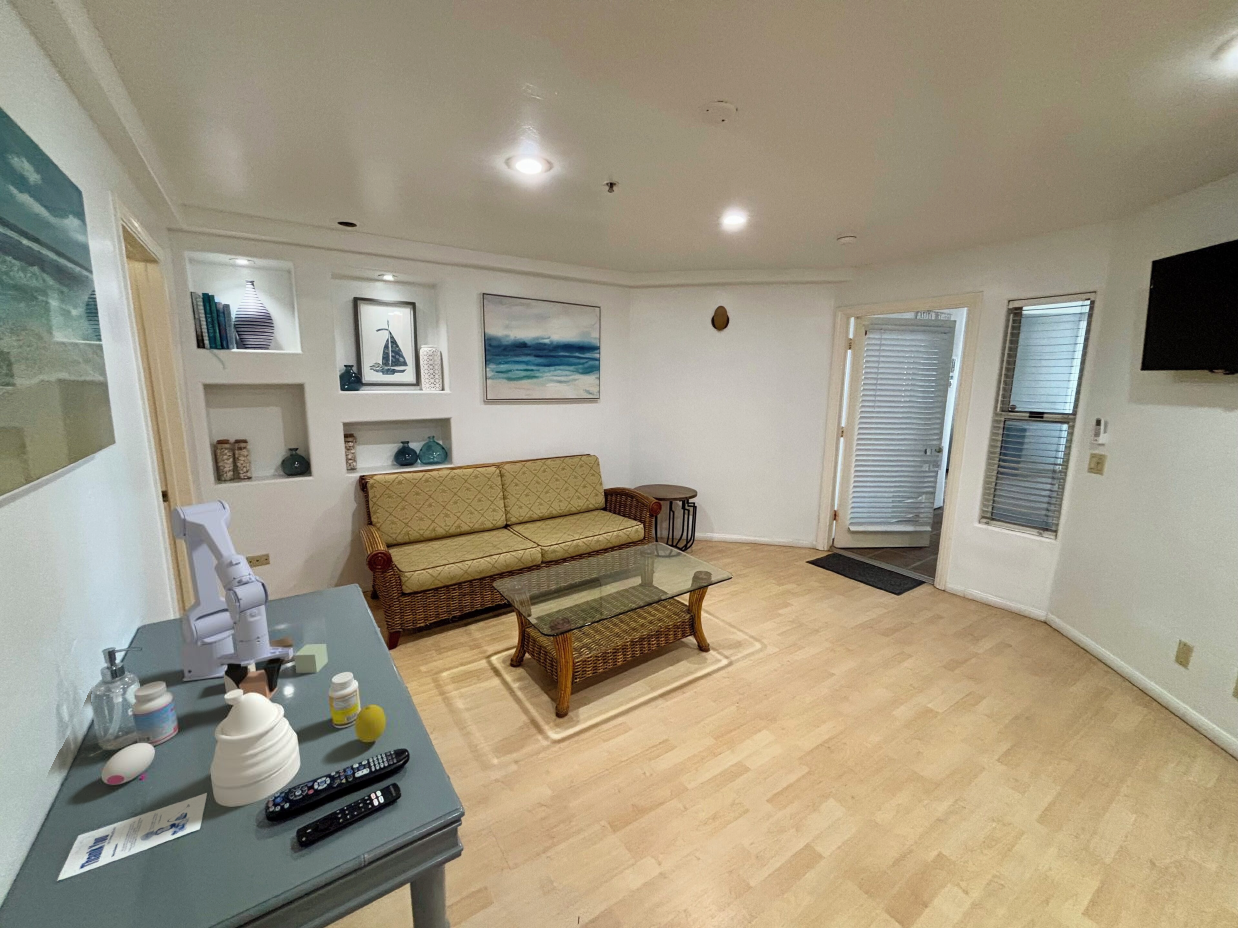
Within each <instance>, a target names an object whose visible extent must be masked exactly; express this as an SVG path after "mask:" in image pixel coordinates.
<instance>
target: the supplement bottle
mask: <svg viewBox="0 0 1238 928" xmlns="http://www.w3.org/2000/svg"><path fill="white" fill-rule="evenodd" d="M353 674H354V673H352V672H351V671H344V672H340V673H337V674H336V675H334V676H333V677H332V679H331V686H330V687H329V689H328V699H329V708H330V709H329V710H330V716H331V717H330V718H331V724H332V725H333V727H335V728H337V729H338V728H339V729H343V728H348V727H350V726H353V725H355V720H356V717H357V715H358V713H359V712H360V711H361V710H362V708H361V707H362V706H361V698H360V688H359V682H358V681H357V679H354V675H353Z"/></svg>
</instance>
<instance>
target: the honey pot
mask: <svg viewBox="0 0 1238 928" xmlns="http://www.w3.org/2000/svg"><path fill="white" fill-rule="evenodd" d="M223 697H224V700H225V702H226V703H227V704H228V705H230V706H231V705H232V708H231V709H230V711H229V712H228V714H227V717H226V718H223V720H222V721H221V722H220V723H219V724H218V725H217V727H216V728H215V731H214V737H215V739H216V740H217V744H216V745H215V751H214V755H213V760H212V762H211V764H210V769H209V772H210V775H211V776H210V779H211V780H210V781H211V786H212V792H213V797H214V800H215V802H216V803H217V804H219V805H221V806H224V807H229V808H232V807H242V806H246V805H250V804H253V803H256V802H258V801H261V800H264V799H265V798H268V797H269V796H271V795H273V794H276V793H277V791H279V790H280V789H282V788H283V787H285V786H286V785H287V784H288V783H289V782H290V781H291V780H292V779H293V778H294V777H295V775H296V774H297V773H298V772H299V769H300V767H301V757H300V755H301V754H300V748H299V741H298V735H297V733H296V732H295V731H294V729H293V728H292V726H291V725H290V722H289V721H288V719H287V718H286V717H284V715H285V710H284V709H285V708H283V706H282V705H281V704H279V703H274V702H272V701H271V700H270V699H267V698H266V697H264V696H263V695H261V694H258V693H251V692H250V693H247V694H245V695H243V690H242V689H237V690H233V691H230V692H227V693H226V694H225V695H224V696H223Z"/></svg>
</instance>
